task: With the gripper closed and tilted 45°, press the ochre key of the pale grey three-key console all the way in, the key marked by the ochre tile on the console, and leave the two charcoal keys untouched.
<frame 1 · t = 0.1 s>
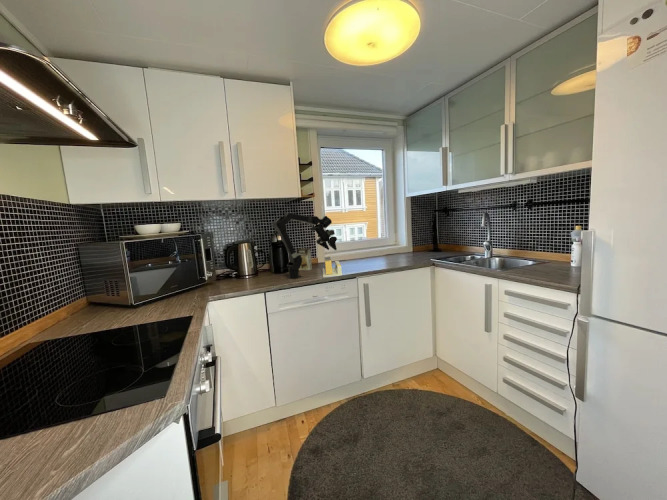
hand: (332, 249, 194), 15 cm above the countertop, tool tilted 30°, fingers open, 9 cm apart
charcoal key far: (327, 262, 198), point 5 cm above the countertop, slide at 0.0 cm
charcoal key middle: (328, 264, 188), point 5 cm above the countertop, slide at 0.0 cm
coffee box: (305, 269, 208), on the countertop
ochre key: (328, 267, 178), point 5 cm above the countertop, slide at 0.0 cm
key console: (331, 272, 188), on the countertop
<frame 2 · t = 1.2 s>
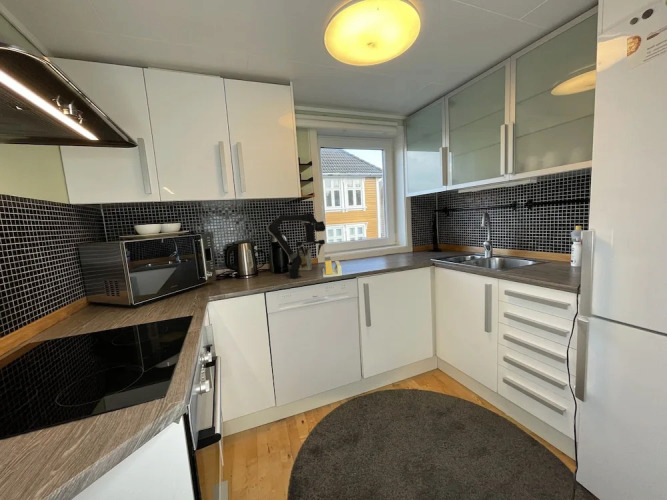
hand: (311, 255, 182), 13 cm above the countertop, tool pointing down, fingers open, 9 cm apart
nothing on the countertop moved.
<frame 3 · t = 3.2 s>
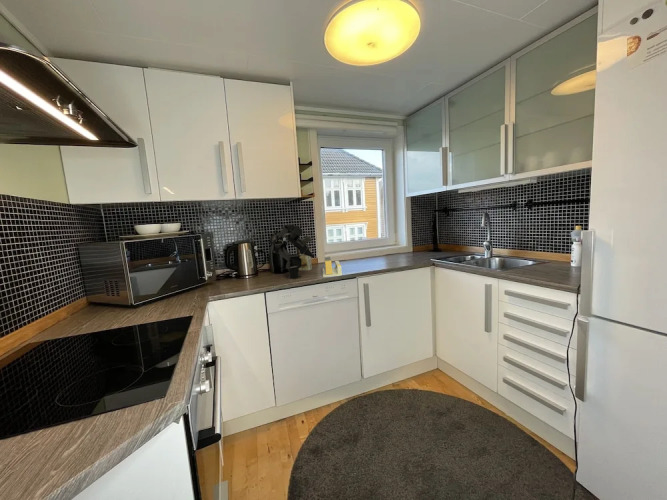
hand: (314, 257, 177), 13 cm above the countertop, tool tilted 45°, fingers closed
nothing on the countertop moved.
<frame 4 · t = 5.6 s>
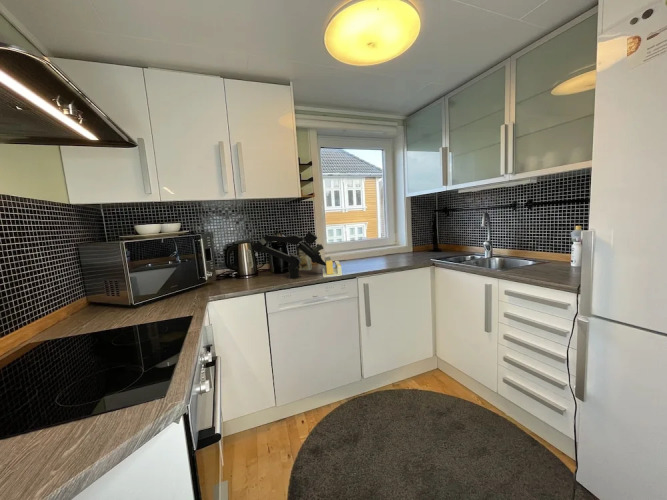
hand: (325, 265, 177), 7 cm above the countertop, tool tilted 45°, fingers closed, pressing on ochre key
ochre key: (329, 267, 178), point 5 cm above the countertop, slide at 0.6 cm, touching gripper
everything else where it was.
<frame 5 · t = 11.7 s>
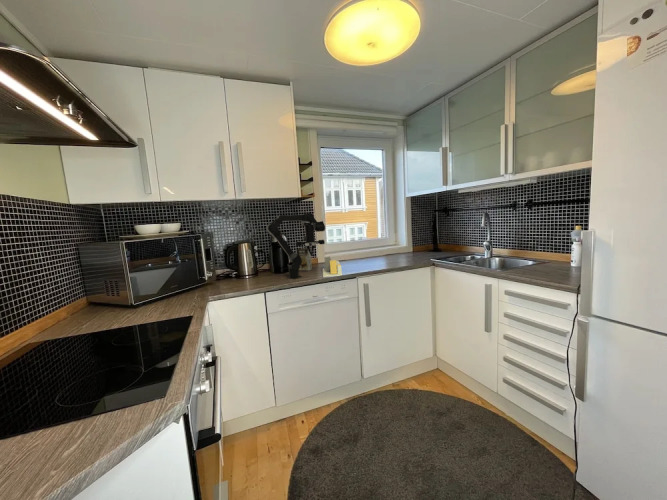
hand: (311, 255, 182), 13 cm above the countertop, tool pointing down, fingers closed
ochre key: (333, 266, 178), point 5 cm above the countertop, slide at 3.1 cm
everything else where it was.
at the end: ochre key slide at 3.1 cm; charcoal key middle slide at 0.0 cm; charcoal key far slide at 0.0 cm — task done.
